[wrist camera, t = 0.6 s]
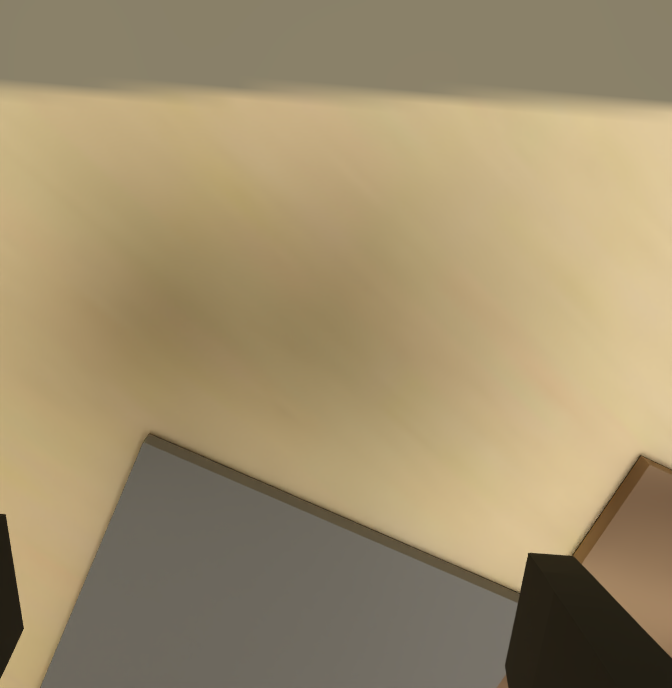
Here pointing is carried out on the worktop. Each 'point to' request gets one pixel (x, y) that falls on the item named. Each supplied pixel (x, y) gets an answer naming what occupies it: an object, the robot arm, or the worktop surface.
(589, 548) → the brown slotted base
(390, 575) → the mat
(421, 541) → the worktop surface
